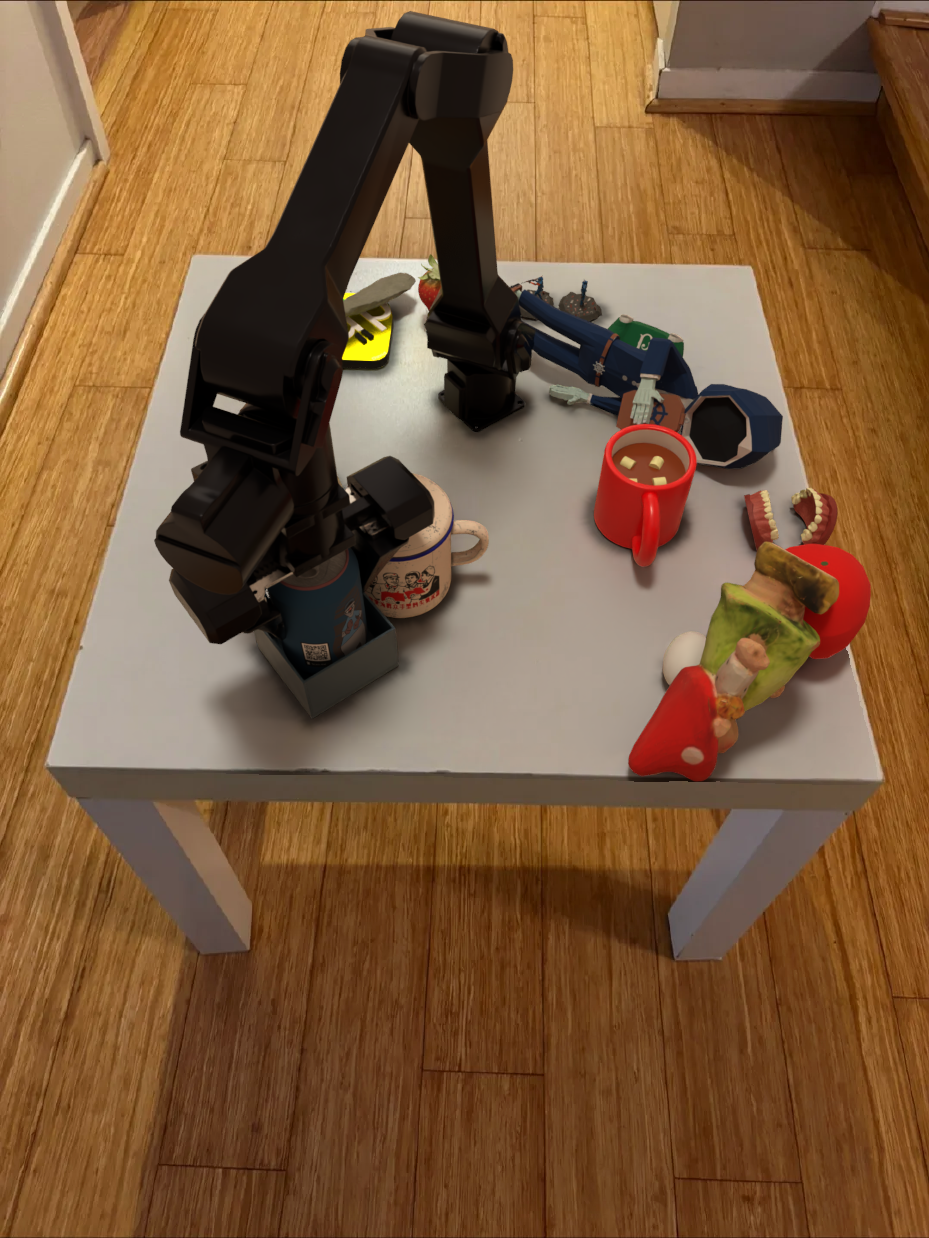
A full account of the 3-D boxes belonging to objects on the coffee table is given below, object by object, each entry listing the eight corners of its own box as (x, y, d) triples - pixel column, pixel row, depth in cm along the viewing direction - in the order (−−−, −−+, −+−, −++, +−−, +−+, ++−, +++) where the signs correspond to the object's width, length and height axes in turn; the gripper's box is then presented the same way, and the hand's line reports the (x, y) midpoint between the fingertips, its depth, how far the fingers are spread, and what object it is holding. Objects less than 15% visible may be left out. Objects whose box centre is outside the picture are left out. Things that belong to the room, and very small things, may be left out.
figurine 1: (473, 275, 89) (761, 434, 80) (550, 225, 96) (824, 367, 87) (459, 378, 98) (716, 531, 89) (530, 326, 105) (776, 464, 96)
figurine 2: (872, 601, 73) (723, 817, 77) (775, 546, 78) (639, 752, 81) (841, 574, 64) (673, 820, 68) (733, 513, 68) (581, 746, 72)
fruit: (425, 305, 107) (423, 240, 100) (473, 311, 106) (474, 246, 100) (414, 335, 104) (411, 270, 97) (463, 342, 103) (464, 277, 97)
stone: (425, 297, 105) (399, 284, 108) (422, 279, 104) (397, 266, 107) (322, 335, 100) (299, 320, 103) (319, 316, 99) (295, 302, 102)
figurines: (603, 295, 108) (609, 265, 104) (601, 328, 106) (607, 298, 102) (512, 287, 108) (515, 256, 104) (509, 319, 106) (512, 289, 102)
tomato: (814, 619, 72) (806, 697, 78) (910, 558, 75) (896, 638, 81) (724, 562, 78) (722, 638, 84) (815, 508, 82) (809, 585, 87)
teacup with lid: (348, 624, 83) (334, 536, 73) (351, 541, 88) (338, 448, 79) (489, 619, 83) (494, 531, 74) (484, 537, 89) (487, 445, 79)
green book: (671, 399, 102) (696, 344, 100) (664, 394, 98) (690, 337, 97) (592, 367, 104) (616, 313, 103) (583, 361, 101) (607, 305, 99)
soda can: (290, 610, 82) (267, 517, 72) (372, 613, 82) (361, 520, 72) (278, 681, 78) (253, 593, 68) (365, 684, 78) (352, 596, 68)
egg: (715, 653, 82) (726, 627, 78) (695, 711, 78) (706, 686, 75) (671, 638, 82) (679, 611, 79) (650, 694, 79) (658, 669, 76)
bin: (343, 599, 84) (336, 560, 80) (398, 665, 81) (395, 628, 76) (258, 648, 82) (246, 610, 77) (311, 719, 78) (303, 683, 73)
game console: (214, 365, 101) (211, 354, 100) (231, 297, 107) (229, 286, 106) (388, 369, 101) (388, 358, 100) (395, 301, 107) (395, 289, 106)
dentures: (744, 474, 87) (833, 476, 88) (732, 504, 91) (818, 505, 91) (754, 524, 84) (846, 525, 85) (741, 553, 88) (829, 554, 88)
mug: (599, 586, 85) (611, 527, 79) (591, 483, 92) (601, 422, 86) (690, 587, 85) (709, 529, 79) (674, 484, 92) (691, 423, 86)
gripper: (345, 349, 70) (362, 495, 83) (104, 464, 64) (163, 603, 76) (437, 439, 65) (440, 580, 78) (185, 574, 59) (234, 703, 71)
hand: (320, 612), depth 76 cm, fingers closed on soda can, 7 cm apart
